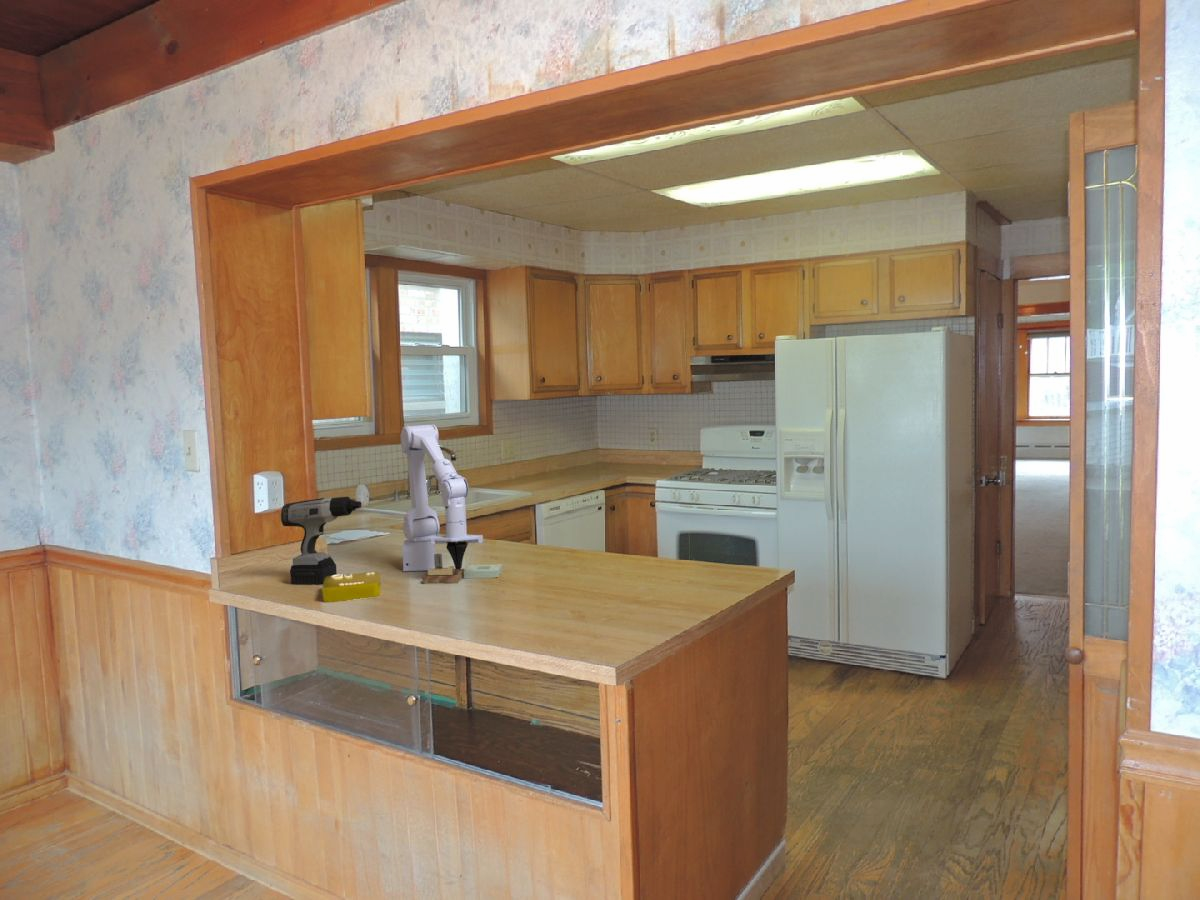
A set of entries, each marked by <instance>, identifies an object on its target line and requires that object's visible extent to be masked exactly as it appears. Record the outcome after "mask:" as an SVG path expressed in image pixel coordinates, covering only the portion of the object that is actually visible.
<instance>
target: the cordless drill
mask: <svg viewBox="0 0 1200 900" xmlns="http://www.w3.org/2000/svg"><path fill="white" fill-rule="evenodd" d="M361 508H362V502H361V501H358V500H356V501H355V500H354V499H351V498H350V497H349V496H339V497H333V496H331V497H321V498H316V499H315V498H314V499H313V498H312V499H307V500H299V501H295V502H290V503H286V504H284V505H283V506H282V507H281V513H280V521H281V524H282V525H283V527H301V528H302V529H303V530H304V536H303V538H302V541H301V544H300V553H301V554H300V555H297V556H295V557H293V558H292V565H291V566H290V569H289V576H290V582H291V585H312V584H323V583H324V579H325V578H326V577H327V576H332V575H337V571H338V570H337V564H336V562H335V561H334V559H333V558H332V557H331V556H330V555H329V554H327V553H326V552H320V551H319V552H318V551H316V544H317V543H316V542H317V540H318V538H319V537H320V536H322V535H324V534H325V532H324V531H325V529H324V528H325V527H324V526H325V525H326V524H327V523H330V522H333V521H335V520H336V519H337V518H338V517H344V516H350V515H351V513H352V512H354V511H355V510H357V509H361Z"/></svg>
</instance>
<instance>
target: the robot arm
mask: <svg viewBox="0 0 1200 900" xmlns="http://www.w3.org/2000/svg"><path fill="white" fill-rule="evenodd" d="M439 435H440V434H439V430H438V427H437V426H436V425H435V424H434V423H430V424H422V425H421V424H420V425H419V424H418V425H405V426H403V428H402V429H401V432H400V444H401V450H402V451H401V452H402V453H403V454H405V455H406V457H407V470H408V480H409V481H408V482H409V489H410V502H411V508H410V509H409V510H408V512H406V513H405V514H404V515H403V525H402V529H403V535H404V537H405V538H406V539H407V540H406V539H405V540H403V542H402V549H401V551H402V553H401V554H402V565H403V566H402V567H403V569H402V571H403V572H420V571H423V572H425V571H427V572H428V569H429V568H435V563H434V554H436V549H435V547H436V546H435V545H437V544H438V545H440V544H446V546H445V547H446V550H447V552H448V553H449V554H450V557H451V559H452V561H453V564H454V565H453V566H454V569H463V567H462V565H463V560H464V555H465V552H466V549H467V547H468V545H469V544H475V543H476V544H482V543H483V542H484V536H483V534H468V533H467V531H468V530H467V527H468V526H467V513H466V512H467V511H466V498H467V497H468V495H469V484H468V481H467V479H466V477H463V476H461V474H460V475H459V474H458V472H457V471H456V469H455V466H454V465H453V463H452V462H451V460H449V459H447V458H445V456H444V454H443V451H442V449H441V447H440V445H439V437H440V436H439ZM425 455H426V456H427V458H428V459H429V460H430V461H431V464H432V465H433V466H432V472H433V474H434V476H435V478H436V480H437V482H438V483H439V485H440V488H439V493H440V496H441V499H442V504H443V507H444V511H445V513H444V515H445V516H444V518H445V532H446V534H445V535H439V533H440V529H441V526H440V521H439V518H438V514H437V511H435V510H434V509H432V508H431V507H430V506H429V497H428V495H429V494H428V485H427V475H426V466H425V464H426V463H425Z"/></svg>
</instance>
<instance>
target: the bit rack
mask: <svg viewBox="0 0 1200 900" xmlns="http://www.w3.org/2000/svg"><path fill="white" fill-rule="evenodd" d="M503 572H504V564H501V563H499V564H498V563H497V564H469V565H468V566H467V567H466V568H465V571H464V577H463V578H464V579H487V578H489V579H490V578H494V577H495V578H496V577H498V578H499V577H500V576H501V575H502V573H503ZM500 574H501V575H500ZM495 578H494V579H495Z"/></svg>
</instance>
